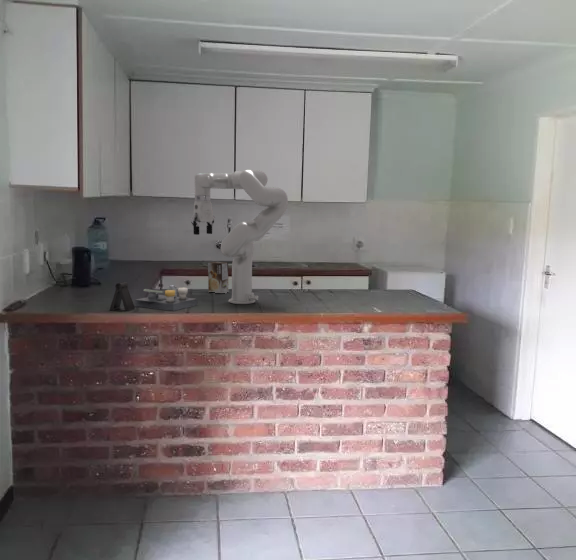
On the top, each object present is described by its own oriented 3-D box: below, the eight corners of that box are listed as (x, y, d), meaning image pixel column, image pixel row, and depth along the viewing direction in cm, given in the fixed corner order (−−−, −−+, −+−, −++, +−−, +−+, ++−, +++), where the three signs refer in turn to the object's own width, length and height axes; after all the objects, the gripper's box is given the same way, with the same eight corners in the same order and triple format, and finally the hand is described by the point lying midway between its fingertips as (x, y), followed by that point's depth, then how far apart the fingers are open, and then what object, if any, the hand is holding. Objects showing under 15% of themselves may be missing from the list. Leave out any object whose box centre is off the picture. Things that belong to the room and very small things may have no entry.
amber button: (177, 302, 264) (177, 290, 264) (170, 303, 261) (170, 291, 260) (169, 301, 266) (169, 289, 266) (163, 302, 263) (162, 290, 262)
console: (196, 305, 273) (196, 295, 272) (173, 310, 258) (173, 301, 257) (159, 300, 283) (159, 291, 283) (134, 306, 268) (134, 296, 268)
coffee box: (229, 292, 311) (229, 262, 308) (222, 294, 305) (222, 263, 303) (214, 291, 315) (214, 261, 313) (207, 293, 309) (207, 262, 307)
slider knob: (176, 296, 276) (176, 285, 275) (172, 297, 273) (172, 286, 273) (171, 295, 277) (171, 285, 277) (167, 296, 275) (167, 285, 274)
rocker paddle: (163, 295, 276) (164, 291, 276) (150, 294, 268) (151, 289, 268) (155, 294, 278) (156, 290, 279) (142, 293, 270) (143, 288, 271)
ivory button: (189, 299, 272) (189, 288, 272) (183, 300, 268) (183, 289, 268) (181, 298, 274) (181, 287, 274) (175, 299, 270) (175, 288, 270)
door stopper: (109, 310, 258) (108, 283, 256) (116, 307, 264) (115, 281, 262) (128, 311, 256) (128, 283, 254) (134, 308, 262) (134, 282, 260)
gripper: (196, 198, 280) (197, 235, 282) (219, 199, 295) (220, 233, 297) (184, 198, 284) (185, 234, 286) (208, 199, 299) (208, 233, 301)
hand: (203, 234), depth 292 cm, fingers open, 9 cm apart
